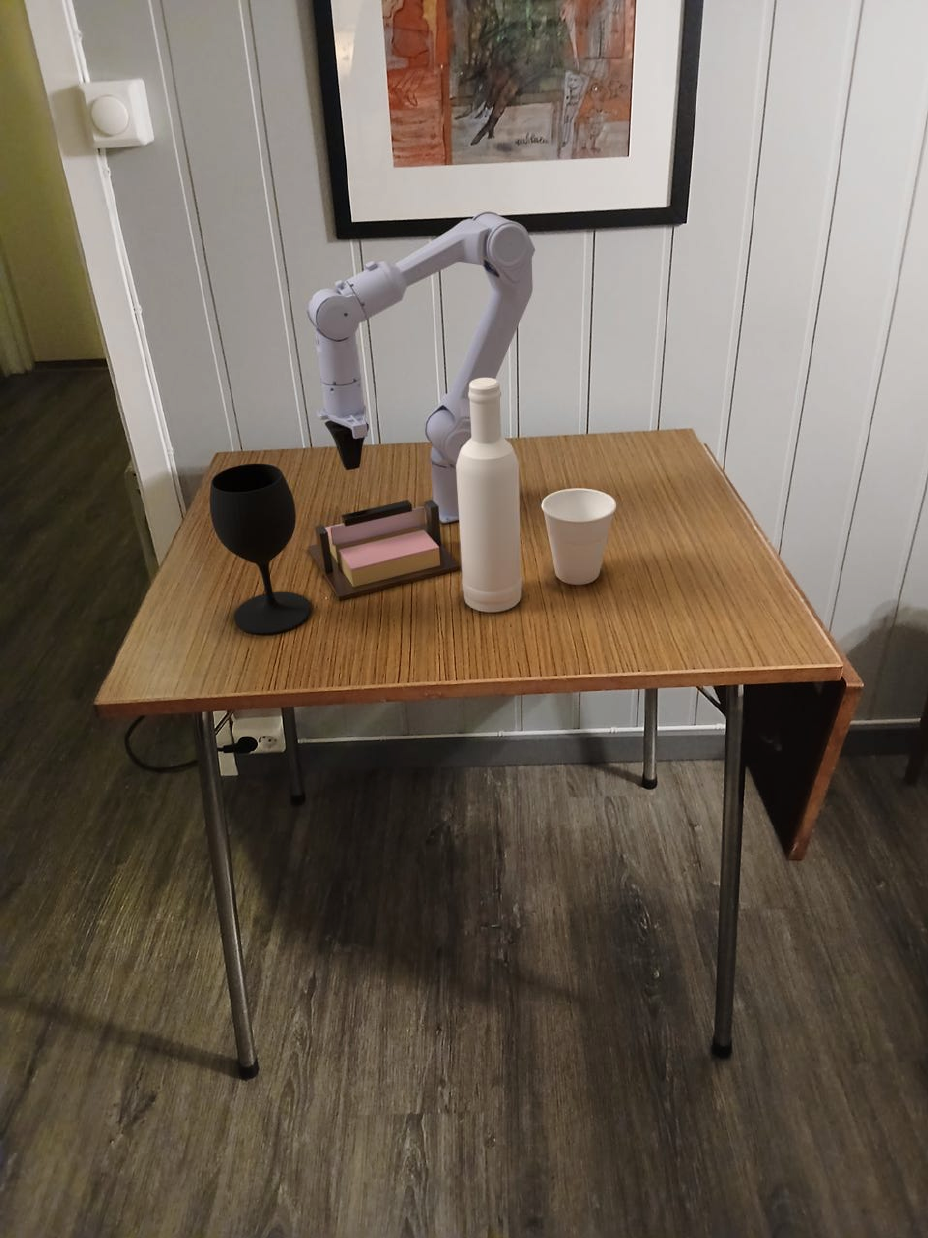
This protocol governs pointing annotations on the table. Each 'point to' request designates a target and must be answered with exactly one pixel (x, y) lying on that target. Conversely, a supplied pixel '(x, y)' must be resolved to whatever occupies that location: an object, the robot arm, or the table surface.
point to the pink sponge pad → (385, 555)
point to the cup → (578, 532)
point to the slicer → (346, 590)
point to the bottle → (489, 506)
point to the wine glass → (258, 540)
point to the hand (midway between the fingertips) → (352, 467)
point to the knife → (377, 522)
